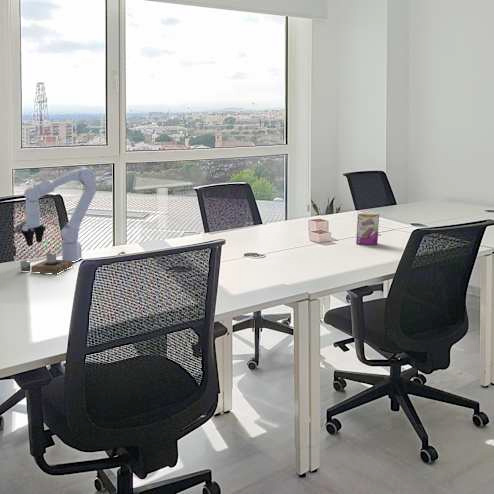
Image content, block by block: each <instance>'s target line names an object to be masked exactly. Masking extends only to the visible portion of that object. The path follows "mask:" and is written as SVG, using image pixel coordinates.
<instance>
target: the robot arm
mask: <svg viewBox="0 0 494 494" xmlns="http://www.w3.org/2000/svg"><path fill="white" fill-rule="evenodd" d="M96 178H97V177H96V174H95V173H94V171H93V170H92V169H90V168H87V167H85V166H80V167H79V168H76V169H73V170H70V171H69V172H67V173H65V174H63V175H61V176H59V177H57V178H54V179H52V180H51V179H43V180H42V181H41V182H39V183H37V184H33V185H32V186H30V187H27V188H26V189H25V190H24V193H23V196H24V198H25V213H26V214H25V216H26V223H24V225H23V226H22V230H21V234H22V235H23V237H24V239H25V242H26V245H27V246H28V247H32V246H33V245H34V235H35V240H36V243H39V244H41V243H42V241H43V237H44V234H45V231H46V228H47V227H46V226H45V222H44V221H41V214H40V202H39V199H40V198H43V197H44V196H46V195H49V194H51V193H53V192H54V191H55V190H56V188H58V187H60V186H63V185H64V184H66V183H68V182H71V181H75V182H80V183H81V185H82V187H83V191H82V194H81V196H80V198H79V201H78V202H77V204H76V207H75V208H74V211H73V213H72V215H71V217H70V218H69V221H68V222H66V223H65V224H66V225H65V226H64V227H62V228H61V230H60V237H61V238H62V240H61V255H62V259H61V260H66V261H76V260H78V259H79V258H81V257H82V258H83V256H82V255H83V253H82V244H81V243H80V242H79V240H78V238H79V232H80V229H81V227H80V226H81V224H82V222H83V219H84V218H85V215H86V214H87V211H88V209H89V207H90V205H91V203H92V201H93V199H94V197H95V194H96V192H97V183H96Z"/></svg>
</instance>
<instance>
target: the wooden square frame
mask: <svg viewBox="0 0 494 494" xmlns="http://www.w3.org/2000/svg"><path fill="white" fill-rule="evenodd" d="M56 264H57V265H55V266H53V265H47V259H46V260H43V261H41V262H39V263H36V264H34V265H33V264H32V266H31V265H30V268H31V272H30V273H32V272H40V273H52V274H57V273H59V272H61V271H63V270H65V269H67V268H69V267H71V266H73V265H74V263H72V261H66V260H62V259H56Z"/></svg>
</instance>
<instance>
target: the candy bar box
mask: <svg viewBox="0 0 494 494" xmlns="http://www.w3.org/2000/svg"><path fill="white" fill-rule="evenodd" d="M356 218H357V219H356V234H355V235H356V236H355V238H356V240H355V242H356V243H355V244H356V245H369V246H370V245H374V246H375V245H376V246H377V245H378V241H379V240H378V239H379V237H378V236H379V223H380V221H379V219H380V214H379V213H378V212H359V211H358V212H357V217H356Z"/></svg>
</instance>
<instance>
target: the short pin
mask: <svg viewBox="0 0 494 494" xmlns="http://www.w3.org/2000/svg"><path fill="white" fill-rule="evenodd" d="M19 262H20V272H21V271H30V270H31V260H27V259H26V260H21V261H19Z"/></svg>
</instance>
